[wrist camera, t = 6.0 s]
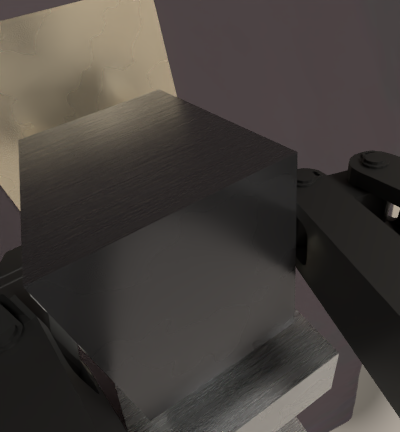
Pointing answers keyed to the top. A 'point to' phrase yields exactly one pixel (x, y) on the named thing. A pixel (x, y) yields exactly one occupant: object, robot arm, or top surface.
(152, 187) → the shaft
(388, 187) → the robot arm
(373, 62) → the top surface
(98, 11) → the frame
